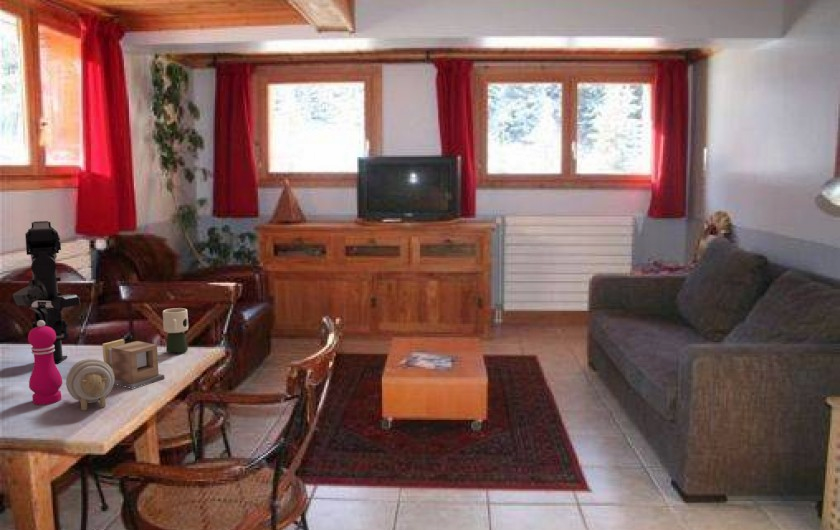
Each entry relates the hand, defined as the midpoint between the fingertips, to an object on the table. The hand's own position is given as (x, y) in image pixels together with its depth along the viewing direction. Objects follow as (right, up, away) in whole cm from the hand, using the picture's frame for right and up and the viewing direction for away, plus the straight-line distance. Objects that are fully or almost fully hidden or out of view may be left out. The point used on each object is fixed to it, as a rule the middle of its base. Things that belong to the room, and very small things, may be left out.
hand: (49, 331), depth 198 cm
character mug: (+27, -9, +23) cm, 37 cm away
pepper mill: (+10, -15, -20) cm, 27 cm away
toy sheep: (+22, -15, -23) cm, 35 cm away
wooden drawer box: (+22, -12, -3) cm, 26 cm away
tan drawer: (+23, -10, -4) cm, 25 cm away
